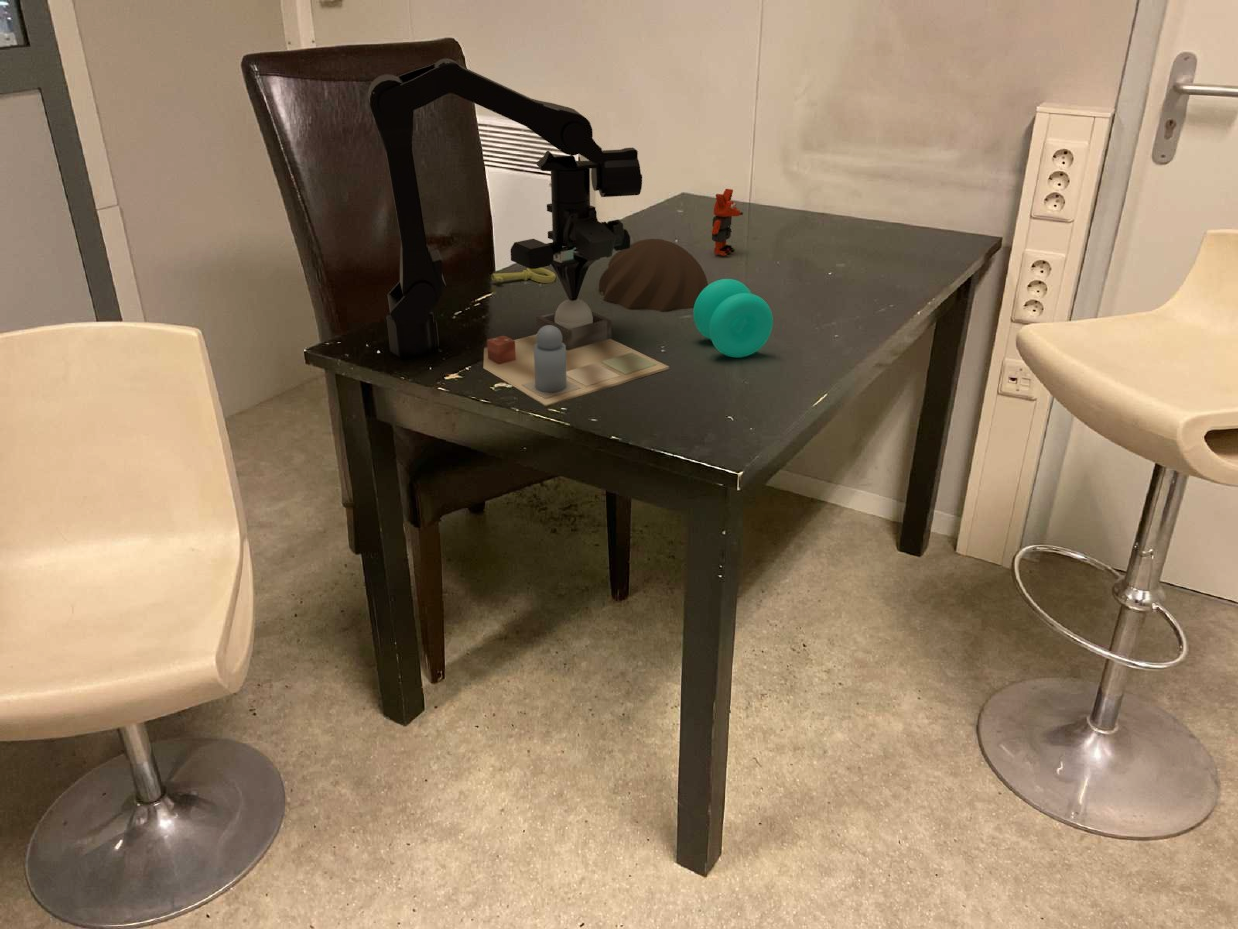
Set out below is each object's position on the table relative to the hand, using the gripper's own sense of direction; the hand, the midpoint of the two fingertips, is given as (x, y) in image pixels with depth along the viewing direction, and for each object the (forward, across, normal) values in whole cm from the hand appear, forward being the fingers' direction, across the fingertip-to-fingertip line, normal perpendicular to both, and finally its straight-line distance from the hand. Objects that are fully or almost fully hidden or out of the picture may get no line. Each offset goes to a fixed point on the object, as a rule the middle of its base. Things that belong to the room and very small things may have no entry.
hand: (572, 299), depth 156 cm
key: (+7, +6, +26) cm, 27 cm away
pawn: (+6, -14, -14) cm, 21 cm away
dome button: (+6, 0, 0) cm, 6 cm away
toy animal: (+7, +52, +20) cm, 56 cm away
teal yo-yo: (+7, +17, -18) cm, 26 cm away
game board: (+6, -7, -7) cm, 12 cm away
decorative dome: (+7, +25, +10) cm, 28 cm away
